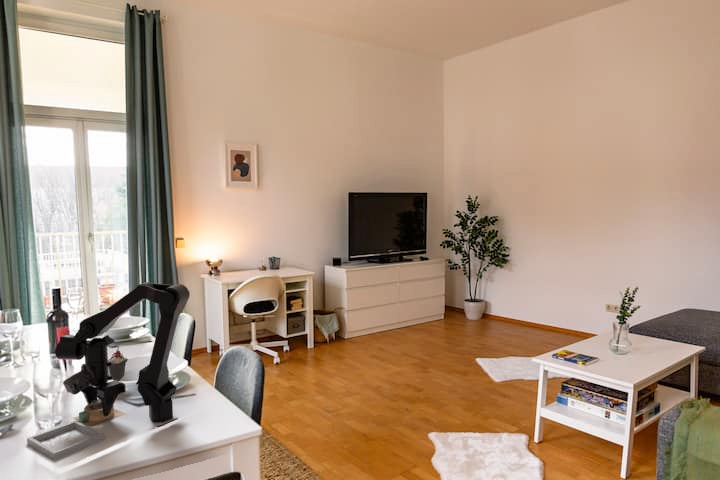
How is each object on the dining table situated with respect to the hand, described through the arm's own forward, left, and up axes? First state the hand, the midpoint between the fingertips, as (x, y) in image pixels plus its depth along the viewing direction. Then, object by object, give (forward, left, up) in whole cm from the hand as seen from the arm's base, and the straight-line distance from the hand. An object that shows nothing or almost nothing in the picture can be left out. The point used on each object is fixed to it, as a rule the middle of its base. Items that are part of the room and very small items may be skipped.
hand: (99, 413), depth 143 cm
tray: (-8, +13, -2) cm, 15 cm away
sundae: (+16, -15, -2) cm, 22 cm away
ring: (0, 0, -1) cm, 1 cm away
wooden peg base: (0, 0, -2) cm, 2 cm away
